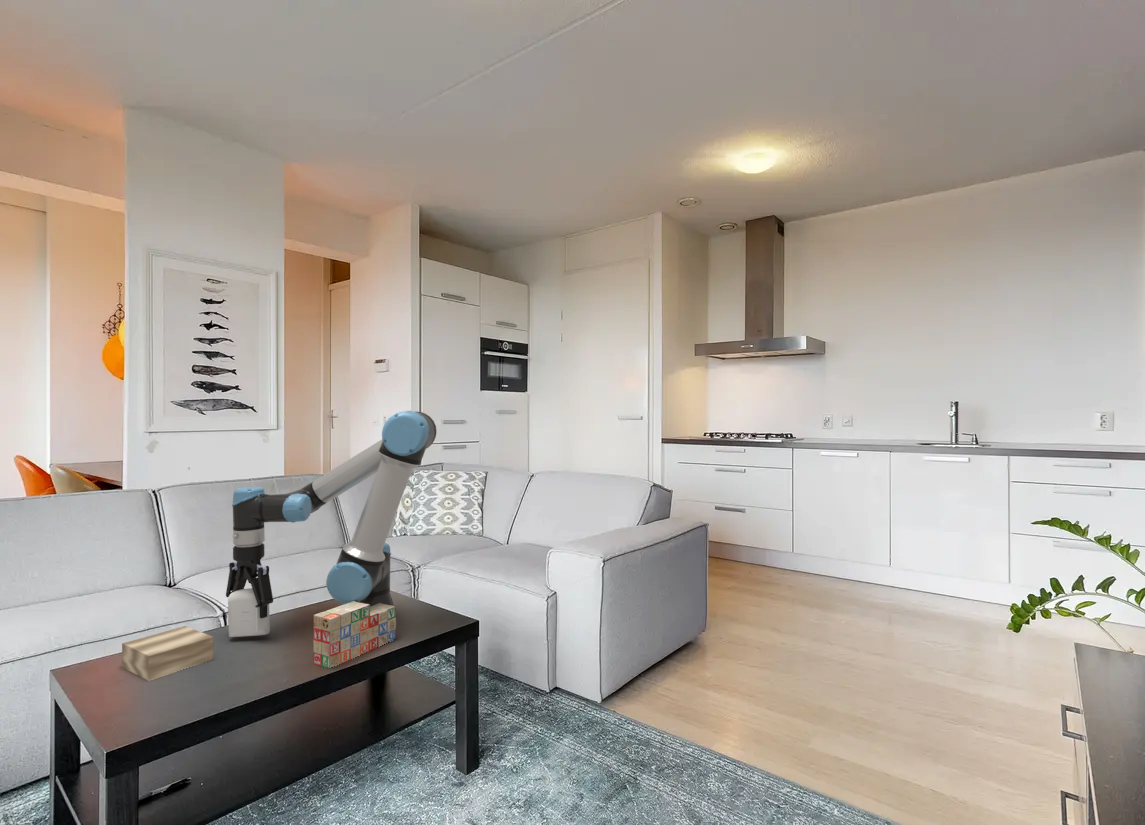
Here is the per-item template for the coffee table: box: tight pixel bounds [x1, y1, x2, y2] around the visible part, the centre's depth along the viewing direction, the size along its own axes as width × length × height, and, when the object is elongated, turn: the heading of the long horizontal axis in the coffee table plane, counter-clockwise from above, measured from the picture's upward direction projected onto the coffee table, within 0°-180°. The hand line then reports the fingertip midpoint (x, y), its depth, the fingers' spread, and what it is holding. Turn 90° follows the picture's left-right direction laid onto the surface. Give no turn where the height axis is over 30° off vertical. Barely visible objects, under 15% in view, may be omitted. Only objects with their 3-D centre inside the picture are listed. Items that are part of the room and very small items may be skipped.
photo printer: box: [227, 587, 271, 638], centre depth 160 cm, size 10×4×12 cm, turn 97°
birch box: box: [121, 625, 214, 682], centre depth 144 cm, size 14×14×6 cm
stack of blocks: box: [312, 601, 397, 669], centre depth 152 cm, size 21×6×12 cm, turn 151°
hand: (249, 626), depth 160 cm, fingers closed on photo printer, 9 cm apart
